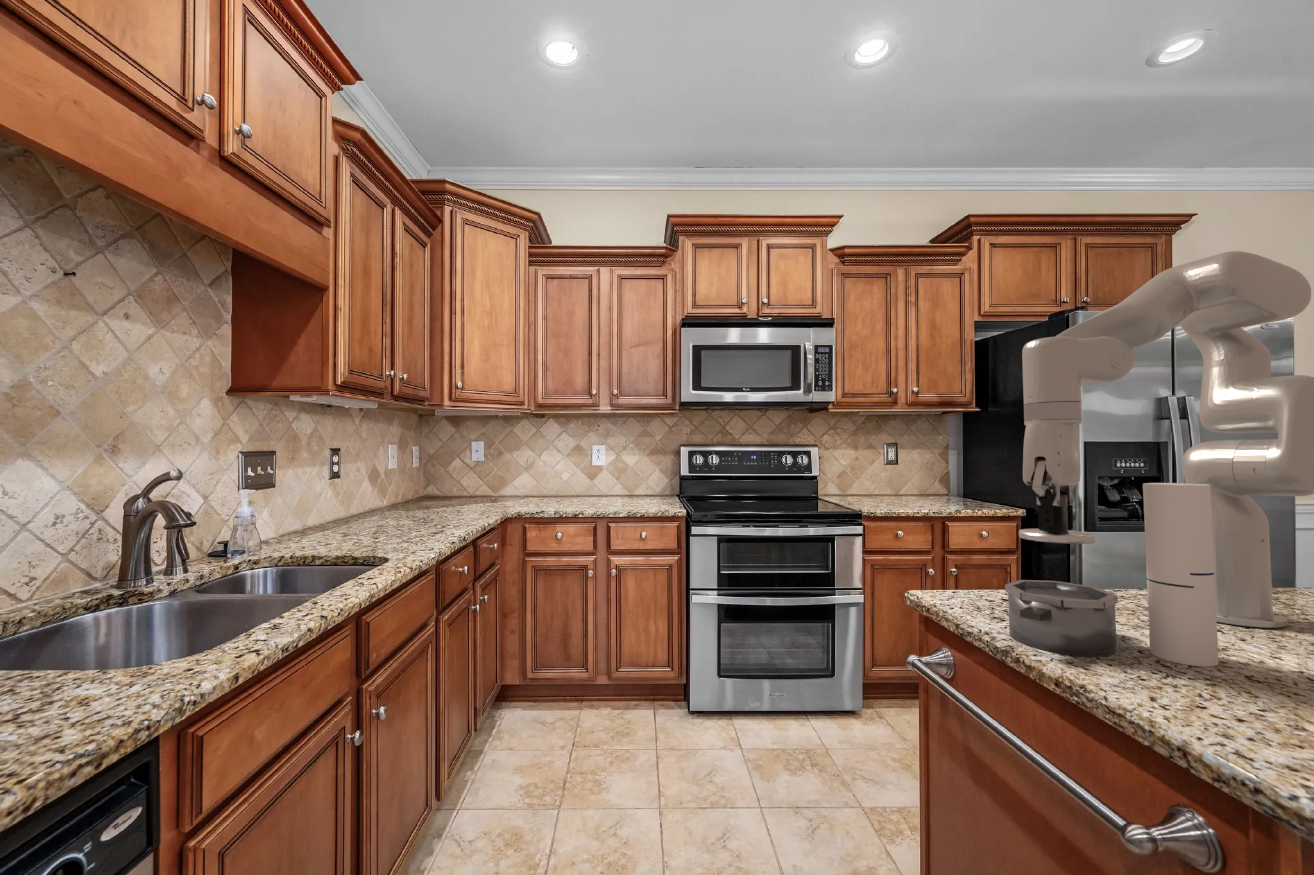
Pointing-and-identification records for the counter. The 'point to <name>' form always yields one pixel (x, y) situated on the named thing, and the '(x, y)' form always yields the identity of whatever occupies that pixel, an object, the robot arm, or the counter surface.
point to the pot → (1062, 617)
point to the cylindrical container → (1180, 573)
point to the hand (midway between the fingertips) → (1055, 529)
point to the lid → (1059, 537)
